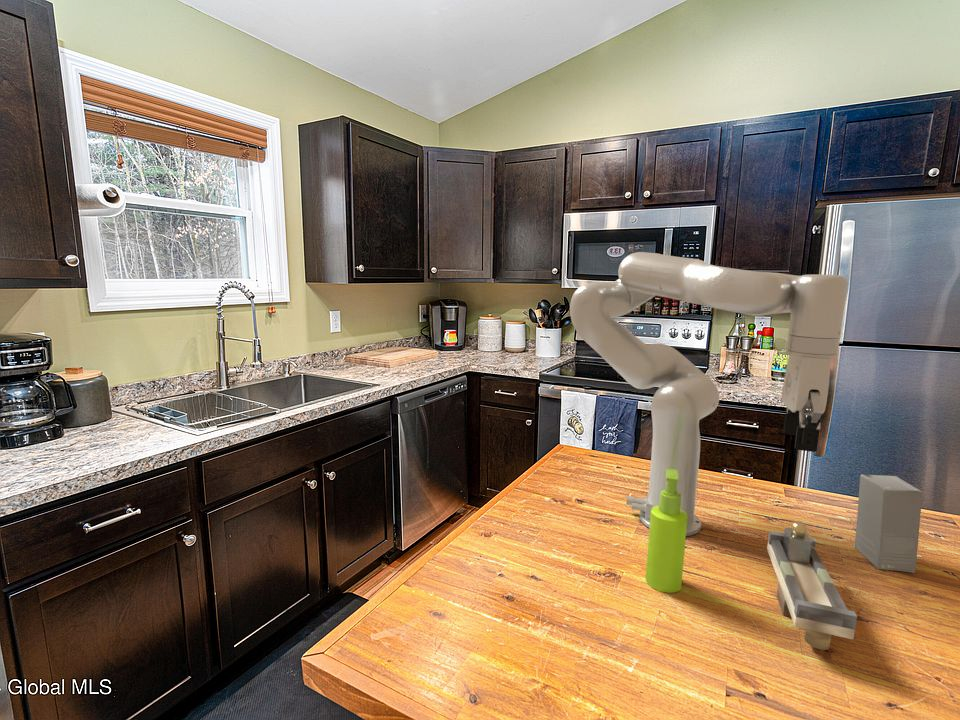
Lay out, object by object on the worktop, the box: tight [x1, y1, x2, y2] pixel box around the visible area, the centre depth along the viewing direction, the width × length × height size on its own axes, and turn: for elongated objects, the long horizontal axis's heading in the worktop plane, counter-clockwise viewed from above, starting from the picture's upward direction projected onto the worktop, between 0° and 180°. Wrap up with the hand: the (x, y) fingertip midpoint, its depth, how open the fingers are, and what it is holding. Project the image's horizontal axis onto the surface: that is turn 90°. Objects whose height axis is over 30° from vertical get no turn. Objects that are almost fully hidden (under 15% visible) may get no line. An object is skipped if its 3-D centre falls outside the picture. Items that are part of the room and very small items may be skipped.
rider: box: [782, 520, 812, 564], centre depth 85 cm, size 3×4×6 cm
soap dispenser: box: [645, 468, 688, 593], centre depth 86 cm, size 6×7×20 cm
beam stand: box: [766, 530, 858, 651], centre depth 80 cm, size 7×22×8 cm, turn 159°
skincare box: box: [854, 474, 924, 574], centre depth 94 cm, size 8×7×16 cm
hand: (798, 441), depth 89 cm, fingers open, 8 cm apart
